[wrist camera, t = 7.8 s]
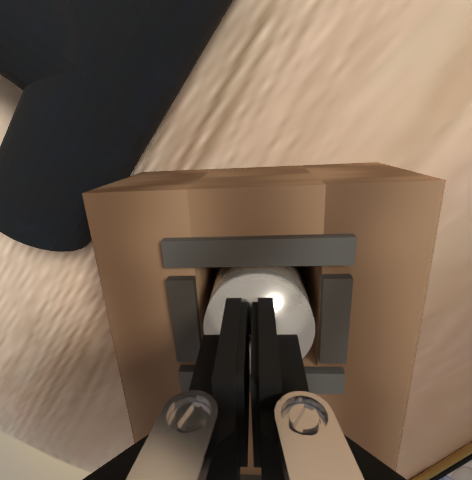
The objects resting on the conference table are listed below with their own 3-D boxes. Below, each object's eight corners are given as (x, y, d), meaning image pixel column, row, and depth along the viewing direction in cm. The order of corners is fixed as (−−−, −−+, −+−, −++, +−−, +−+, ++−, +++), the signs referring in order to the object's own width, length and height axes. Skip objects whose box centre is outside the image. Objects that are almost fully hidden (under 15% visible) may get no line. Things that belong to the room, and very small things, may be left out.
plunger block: (377, 162, 15) (453, 182, 9) (346, 471, 23) (378, 595, 17) (142, 172, 16) (75, 195, 10) (185, 465, 24) (159, 579, 18)
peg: (296, 225, 16) (317, 279, 10) (295, 294, 17) (313, 375, 12) (220, 227, 16) (198, 280, 11) (224, 294, 18) (207, 374, 12)
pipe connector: (-228, 96, 11) (-142, -518, 7) (-82, 105, 16) (25, -245, 12) (55, 268, 13) (273, -122, 9) (109, 229, 18) (266, -31, 14)
